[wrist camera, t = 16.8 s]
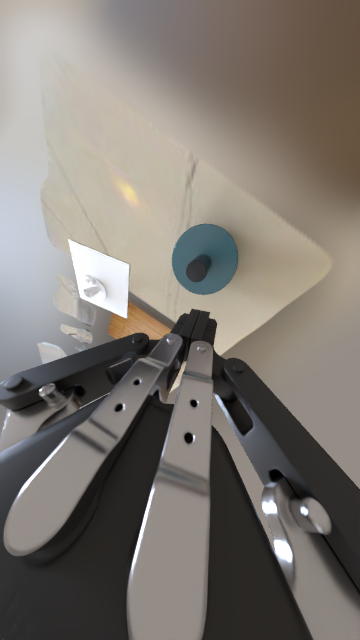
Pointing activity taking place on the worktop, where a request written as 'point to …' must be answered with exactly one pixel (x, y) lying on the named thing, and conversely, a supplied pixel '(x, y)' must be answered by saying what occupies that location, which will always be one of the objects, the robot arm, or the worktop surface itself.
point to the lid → (205, 259)
